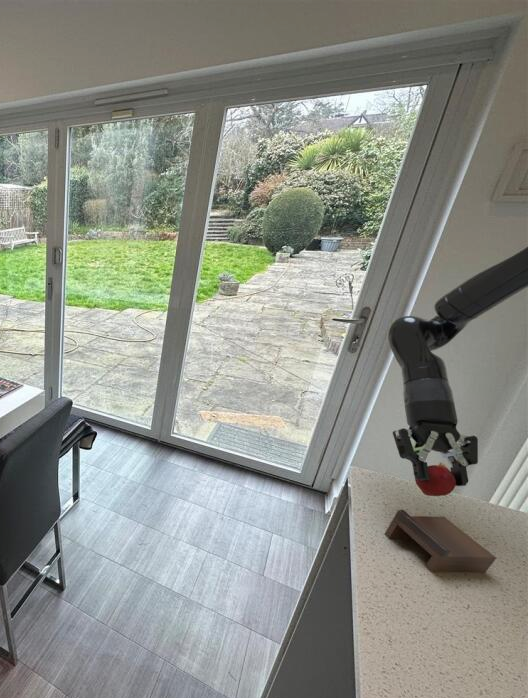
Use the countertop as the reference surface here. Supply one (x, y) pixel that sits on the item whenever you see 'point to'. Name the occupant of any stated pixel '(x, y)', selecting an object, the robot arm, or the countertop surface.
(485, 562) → the shelf
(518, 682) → the countertop surface
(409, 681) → the countertop surface
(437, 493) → the red rounded lump
